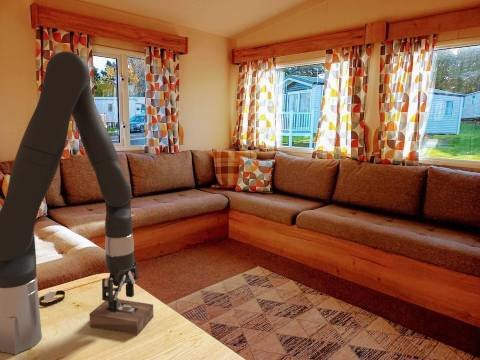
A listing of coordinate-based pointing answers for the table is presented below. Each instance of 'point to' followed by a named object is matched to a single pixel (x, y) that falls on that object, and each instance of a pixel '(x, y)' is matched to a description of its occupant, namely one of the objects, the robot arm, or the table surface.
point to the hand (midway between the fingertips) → (121, 303)
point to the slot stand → (122, 317)
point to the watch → (49, 296)
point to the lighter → (125, 308)
